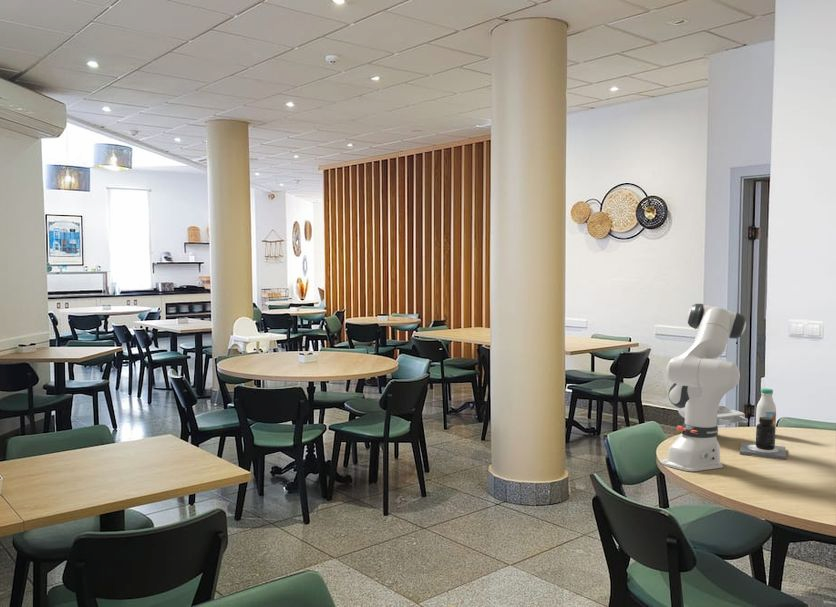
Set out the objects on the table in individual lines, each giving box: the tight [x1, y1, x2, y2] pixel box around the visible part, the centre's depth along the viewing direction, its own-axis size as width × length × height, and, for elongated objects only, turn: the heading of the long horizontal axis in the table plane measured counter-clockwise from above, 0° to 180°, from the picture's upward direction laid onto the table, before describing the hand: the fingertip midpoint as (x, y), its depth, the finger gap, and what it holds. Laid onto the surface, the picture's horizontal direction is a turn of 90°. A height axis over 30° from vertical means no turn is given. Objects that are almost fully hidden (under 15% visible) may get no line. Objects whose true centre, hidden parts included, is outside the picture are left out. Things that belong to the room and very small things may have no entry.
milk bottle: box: [755, 388, 777, 428], centre depth 301 cm, size 8×8×20 cm
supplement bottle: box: [755, 417, 777, 450], centre depth 273 cm, size 7×7×12 cm
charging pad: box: [739, 441, 787, 460], centre depth 273 cm, size 16×16×1 cm
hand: (738, 422), depth 283 cm, fingers open, 8 cm apart
